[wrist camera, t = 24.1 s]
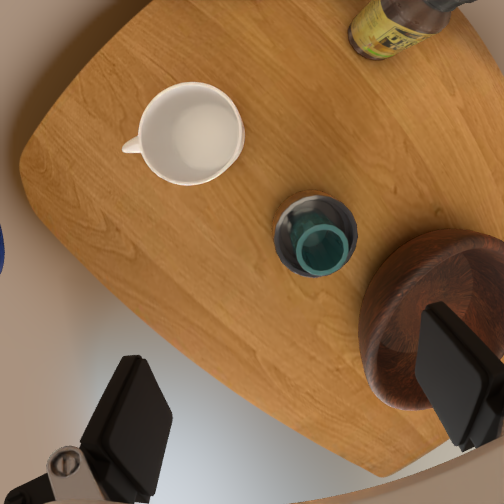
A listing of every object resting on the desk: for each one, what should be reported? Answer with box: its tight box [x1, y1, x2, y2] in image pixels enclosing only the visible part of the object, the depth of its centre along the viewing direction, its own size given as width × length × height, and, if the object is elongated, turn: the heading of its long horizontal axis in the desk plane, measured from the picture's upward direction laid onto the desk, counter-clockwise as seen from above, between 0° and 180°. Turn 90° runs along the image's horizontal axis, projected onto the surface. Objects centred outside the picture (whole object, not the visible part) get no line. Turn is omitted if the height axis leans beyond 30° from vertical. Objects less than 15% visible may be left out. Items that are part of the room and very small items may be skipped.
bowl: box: [272, 190, 358, 278], centre depth 35 cm, size 9×9×4 cm
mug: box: [122, 82, 245, 185], centre depth 29 cm, size 9×12×11 cm
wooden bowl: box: [358, 229, 504, 411], centre depth 36 cm, size 25×25×10 cm
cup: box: [287, 207, 349, 276], centre depth 33 cm, size 5×5×8 cm
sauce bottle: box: [348, 0, 476, 60], centre depth 20 cm, size 6×6×20 cm
